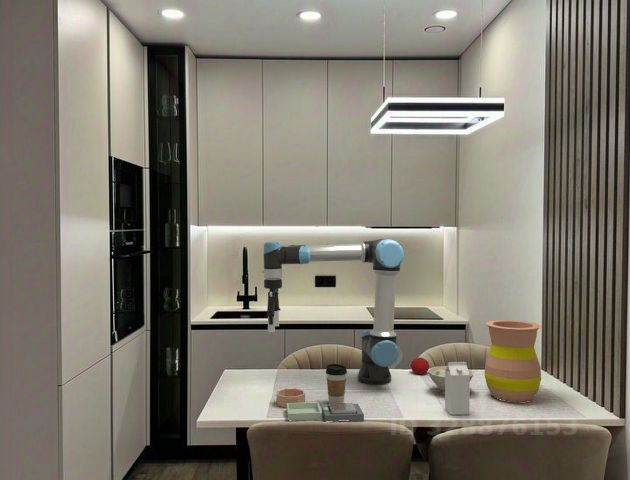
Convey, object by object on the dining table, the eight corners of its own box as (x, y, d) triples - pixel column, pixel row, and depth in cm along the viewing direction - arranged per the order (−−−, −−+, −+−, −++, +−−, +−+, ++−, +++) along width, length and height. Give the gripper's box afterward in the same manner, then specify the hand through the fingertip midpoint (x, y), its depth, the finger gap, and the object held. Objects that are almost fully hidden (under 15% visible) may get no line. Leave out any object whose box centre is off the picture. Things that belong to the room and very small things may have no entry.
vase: (482, 402, 222) (483, 327, 222) (485, 387, 243) (486, 318, 242) (542, 408, 215) (542, 331, 214) (540, 392, 236) (540, 321, 235)
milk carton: (444, 409, 214) (445, 360, 214) (462, 408, 215) (463, 359, 214) (450, 415, 207) (451, 364, 207) (469, 414, 208) (469, 364, 207)
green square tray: (318, 408, 215) (318, 402, 215) (322, 419, 203) (321, 412, 203) (286, 410, 213) (286, 403, 213) (288, 421, 201) (288, 413, 201)
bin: (303, 398, 228) (303, 388, 228) (306, 407, 217) (306, 396, 216) (276, 399, 226) (276, 389, 226) (277, 408, 215) (277, 397, 215)
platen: (352, 405, 211) (352, 402, 211) (356, 413, 202) (356, 410, 202) (328, 406, 210) (328, 403, 210) (331, 414, 201) (331, 411, 201)
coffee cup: (333, 398, 227) (333, 362, 227) (351, 402, 222) (351, 365, 222) (321, 404, 220) (321, 366, 220) (339, 408, 216) (339, 369, 215)
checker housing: (357, 410, 213) (357, 402, 213) (363, 421, 201) (363, 412, 201) (321, 411, 212) (321, 403, 212) (325, 422, 200) (325, 414, 200)
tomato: (410, 370, 271) (410, 354, 271) (428, 371, 270) (428, 355, 270) (410, 375, 262) (410, 358, 262) (429, 376, 261) (430, 359, 261)
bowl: (466, 402, 222) (466, 377, 222) (420, 394, 232) (420, 371, 232) (479, 390, 239) (479, 367, 238) (436, 383, 249) (436, 361, 249)
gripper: (268, 276, 246) (268, 323, 247) (259, 281, 221) (260, 334, 222) (285, 275, 246) (285, 323, 246) (278, 281, 221) (278, 334, 221)
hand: (273, 329), depth 234 cm, fingers open, 13 cm apart
